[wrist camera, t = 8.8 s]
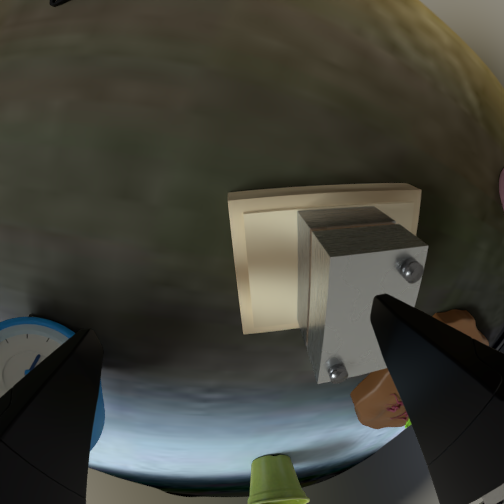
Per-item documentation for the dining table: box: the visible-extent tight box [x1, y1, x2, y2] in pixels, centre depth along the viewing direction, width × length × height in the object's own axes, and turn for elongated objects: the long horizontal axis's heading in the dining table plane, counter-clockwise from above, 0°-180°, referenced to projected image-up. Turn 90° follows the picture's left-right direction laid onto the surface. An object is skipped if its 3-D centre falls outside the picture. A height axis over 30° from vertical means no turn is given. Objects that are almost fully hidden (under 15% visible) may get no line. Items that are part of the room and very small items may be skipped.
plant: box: [350, 309, 489, 429], centre depth 25 cm, size 20×20×11 cm
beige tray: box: [228, 183, 422, 334], centre depth 19 cm, size 10×13×2 cm
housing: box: [297, 206, 428, 384], centre depth 15 cm, size 5×8×7 cm, turn 4°
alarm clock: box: [0, 314, 105, 451], centre depth 16 cm, size 13×6×15 cm, turn 72°
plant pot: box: [248, 455, 310, 504], centre depth 32 cm, size 9×9×9 cm
